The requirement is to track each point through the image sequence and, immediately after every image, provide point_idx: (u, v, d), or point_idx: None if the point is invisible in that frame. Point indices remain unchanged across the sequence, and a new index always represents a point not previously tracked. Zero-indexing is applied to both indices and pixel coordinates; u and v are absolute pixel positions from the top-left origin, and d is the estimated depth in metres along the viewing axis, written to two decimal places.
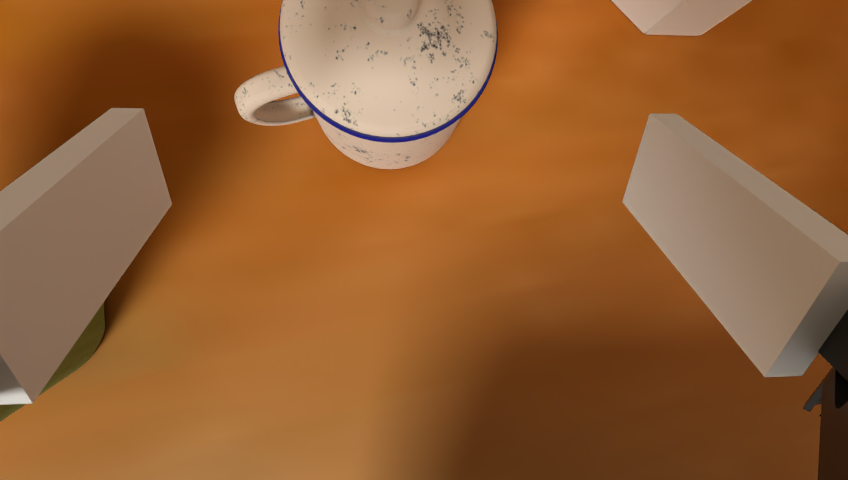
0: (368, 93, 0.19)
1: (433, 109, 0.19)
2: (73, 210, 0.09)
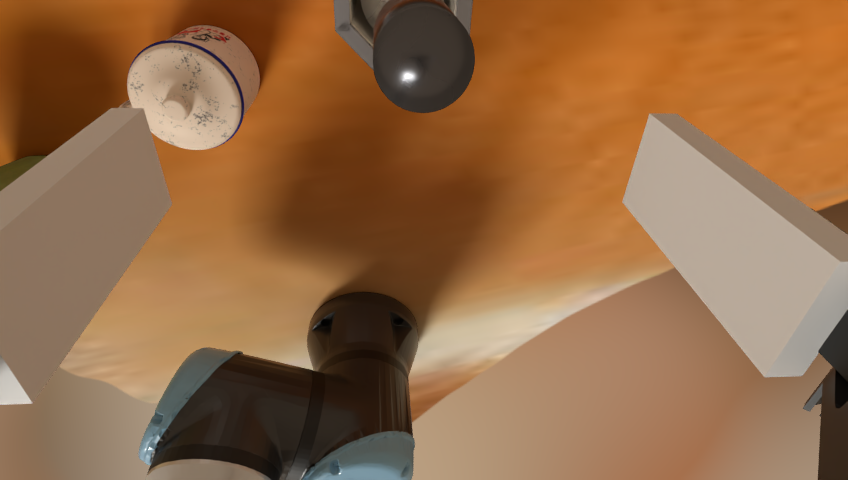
0: (179, 136, 0.41)
1: (212, 141, 0.42)
2: (73, 210, 0.09)
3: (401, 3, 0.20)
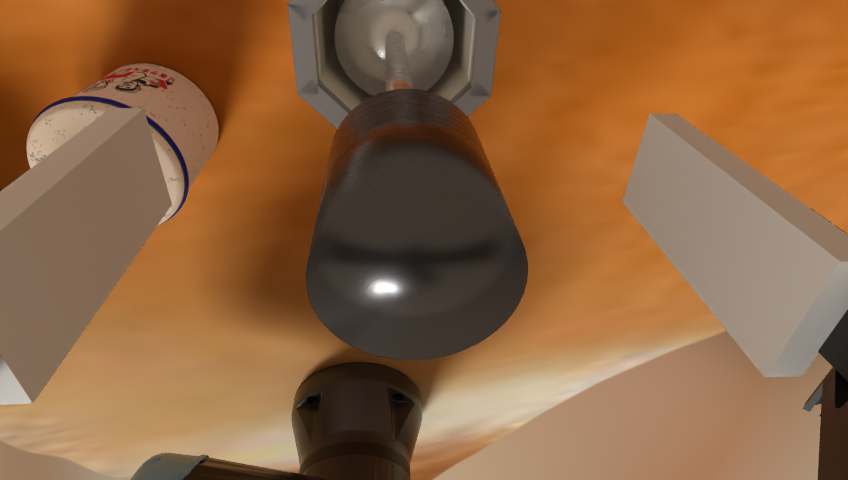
0: None
1: None
2: (73, 210, 0.09)
3: (371, 145, 0.09)
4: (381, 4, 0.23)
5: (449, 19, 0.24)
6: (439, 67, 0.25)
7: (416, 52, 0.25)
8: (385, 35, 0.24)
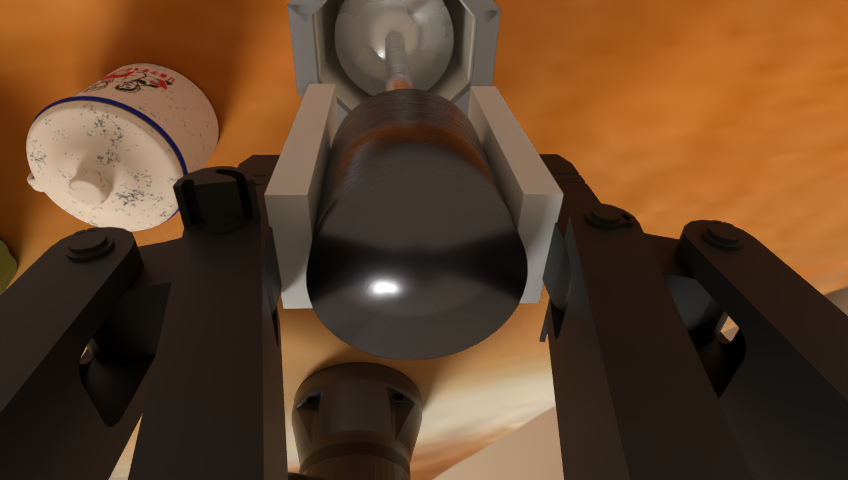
0: (103, 218, 0.31)
1: (149, 222, 0.32)
2: (324, 161, 0.11)
3: (371, 145, 0.09)
4: (381, 4, 0.23)
5: (449, 19, 0.24)
6: (439, 67, 0.25)
7: (416, 52, 0.25)
8: (385, 35, 0.24)
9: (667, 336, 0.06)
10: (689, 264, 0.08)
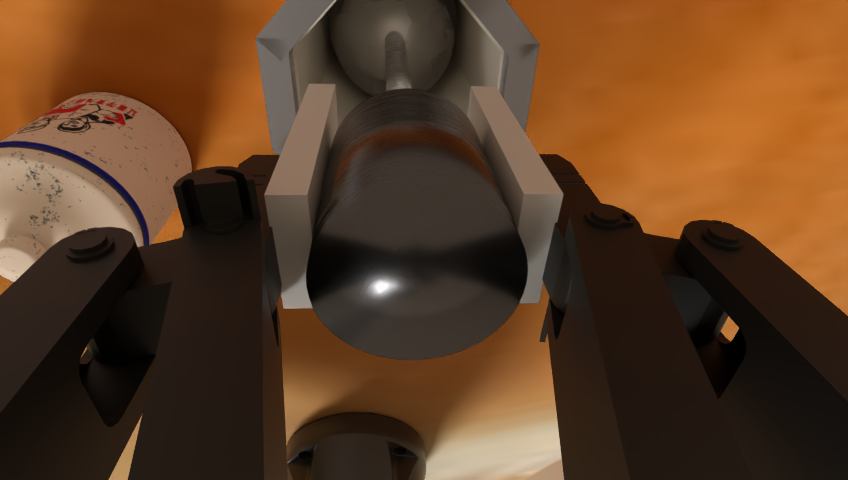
0: None
1: None
2: (324, 161, 0.11)
3: (371, 145, 0.09)
4: (381, 4, 0.23)
5: (449, 19, 0.24)
6: (439, 67, 0.25)
7: (416, 52, 0.25)
8: (385, 35, 0.24)
9: (667, 336, 0.06)
10: (690, 264, 0.08)
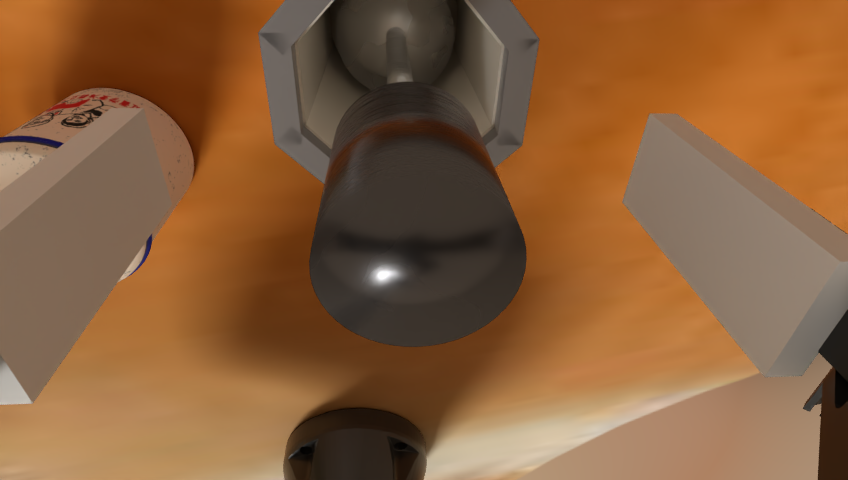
0: None
1: None
2: (73, 210, 0.09)
3: (373, 135, 0.10)
4: (382, 0, 0.24)
5: (450, 15, 0.24)
6: (440, 63, 0.26)
7: (417, 48, 0.25)
8: (386, 31, 0.24)
9: None
10: None
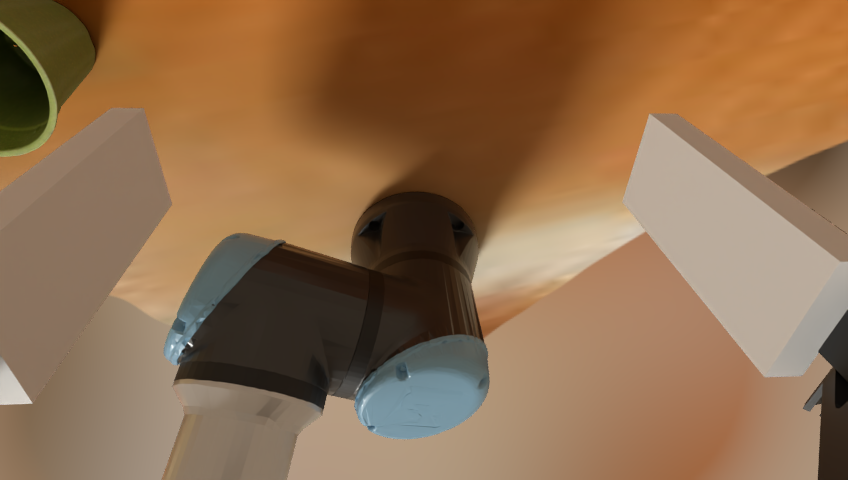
0: None
1: None
2: (73, 210, 0.09)
3: None
4: None
5: None
6: None
7: None
8: None
9: None
10: None
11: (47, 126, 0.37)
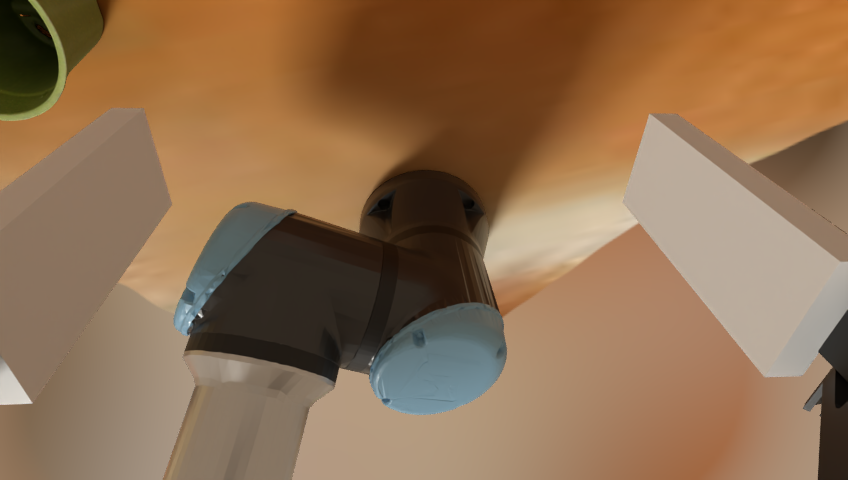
0: None
1: None
2: (73, 210, 0.09)
3: None
4: None
5: None
6: None
7: None
8: None
9: None
10: None
11: (56, 88, 0.36)
